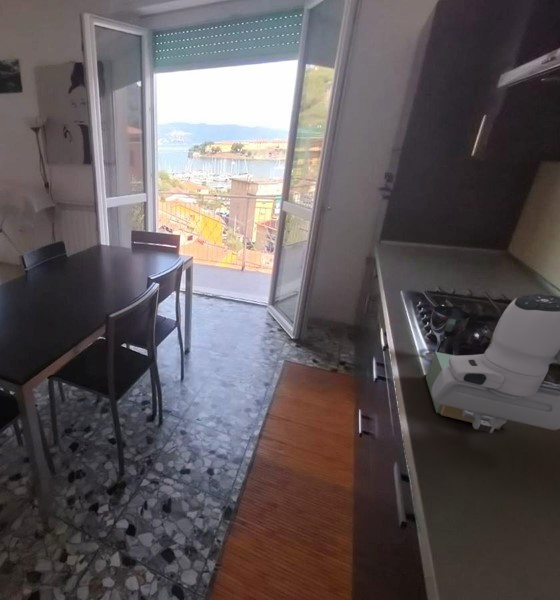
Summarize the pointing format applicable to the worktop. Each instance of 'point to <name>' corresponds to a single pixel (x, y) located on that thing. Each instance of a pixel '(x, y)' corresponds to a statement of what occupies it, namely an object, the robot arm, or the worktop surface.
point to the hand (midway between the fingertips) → (481, 429)
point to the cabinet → (437, 373)
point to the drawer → (462, 414)
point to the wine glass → (447, 324)
